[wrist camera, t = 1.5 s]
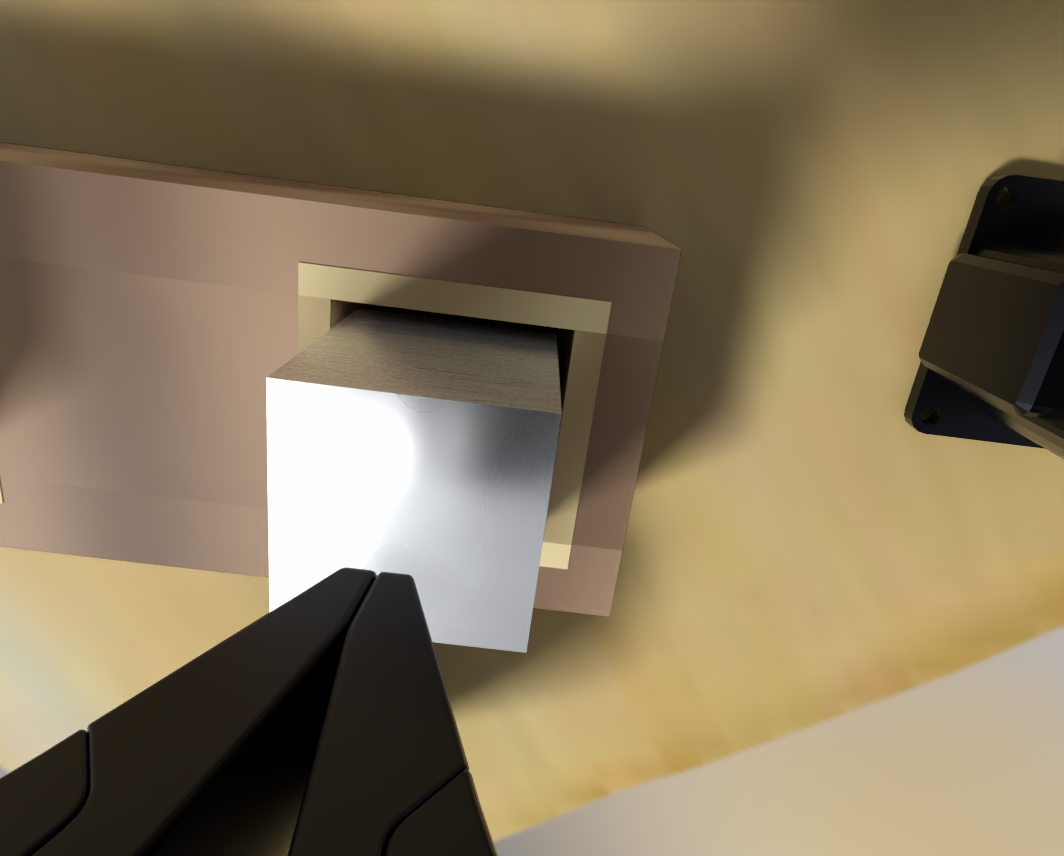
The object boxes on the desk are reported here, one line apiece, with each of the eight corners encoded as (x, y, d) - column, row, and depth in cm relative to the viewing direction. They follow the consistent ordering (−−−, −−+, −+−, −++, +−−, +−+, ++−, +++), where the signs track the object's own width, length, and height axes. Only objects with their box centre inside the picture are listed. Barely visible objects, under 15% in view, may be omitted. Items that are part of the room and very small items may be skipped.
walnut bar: (643, 226, 17) (682, 249, 12) (594, 511, 20) (609, 617, 15) (-178, 118, 17) (-464, 100, 12) (-108, 427, 19) (-318, 510, 15)
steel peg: (556, 333, 14) (562, 414, 9) (531, 509, 15) (526, 652, 11) (357, 308, 14) (266, 378, 9) (351, 488, 15) (269, 623, 11)
